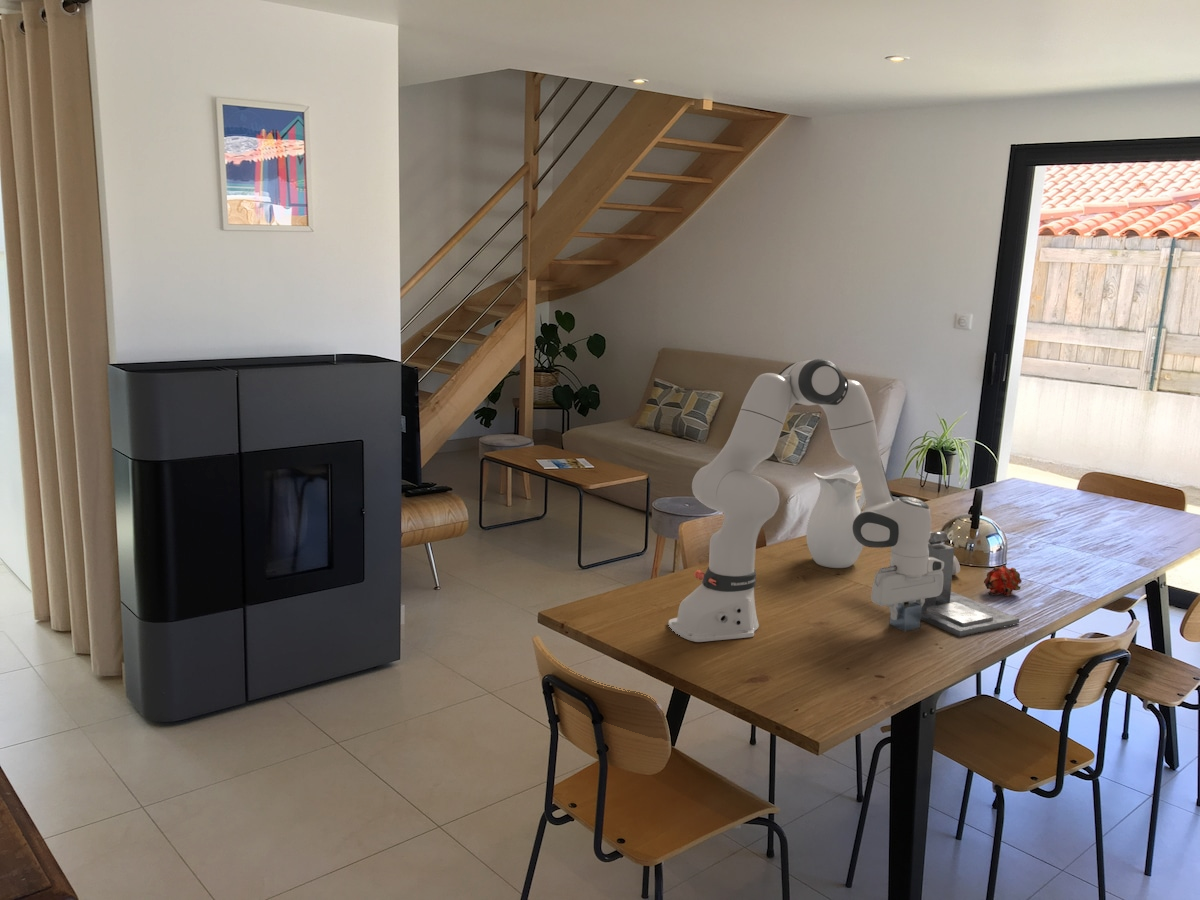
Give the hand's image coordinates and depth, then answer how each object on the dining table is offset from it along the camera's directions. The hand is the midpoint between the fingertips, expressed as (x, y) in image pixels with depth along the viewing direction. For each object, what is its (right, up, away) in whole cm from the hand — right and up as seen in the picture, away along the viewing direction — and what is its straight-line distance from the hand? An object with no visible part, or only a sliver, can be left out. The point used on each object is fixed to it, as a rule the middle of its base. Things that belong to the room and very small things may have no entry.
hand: (905, 617), depth 235 cm
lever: (+8, +19, +20) cm, 29 cm away
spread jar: (+22, +5, +40) cm, 46 cm away
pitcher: (-2, +8, +53) cm, 53 cm away
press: (+15, -1, +9) cm, 17 cm away
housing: (0, -2, 0) cm, 2 cm away
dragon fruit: (+34, +2, +24) cm, 42 cm away
